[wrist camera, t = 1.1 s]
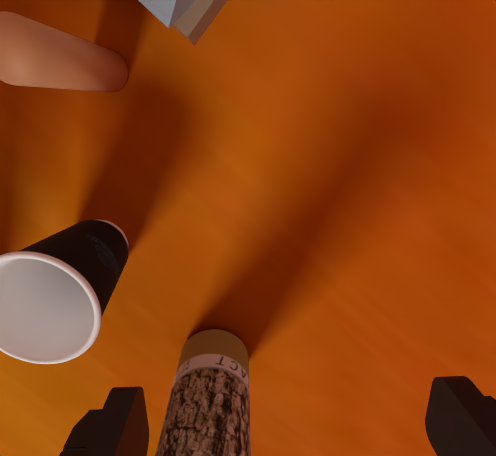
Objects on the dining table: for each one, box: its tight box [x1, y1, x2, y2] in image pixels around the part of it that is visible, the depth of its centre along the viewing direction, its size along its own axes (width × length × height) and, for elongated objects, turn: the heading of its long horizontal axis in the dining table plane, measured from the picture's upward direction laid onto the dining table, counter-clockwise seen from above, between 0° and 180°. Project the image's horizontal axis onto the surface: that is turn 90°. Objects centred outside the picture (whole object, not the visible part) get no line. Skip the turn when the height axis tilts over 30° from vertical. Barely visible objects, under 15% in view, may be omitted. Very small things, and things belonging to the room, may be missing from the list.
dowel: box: [0, 11, 128, 92], centre depth 22 cm, size 3×3×12 cm
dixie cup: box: [0, 219, 129, 364], centre depth 27 cm, size 8×8×11 cm
